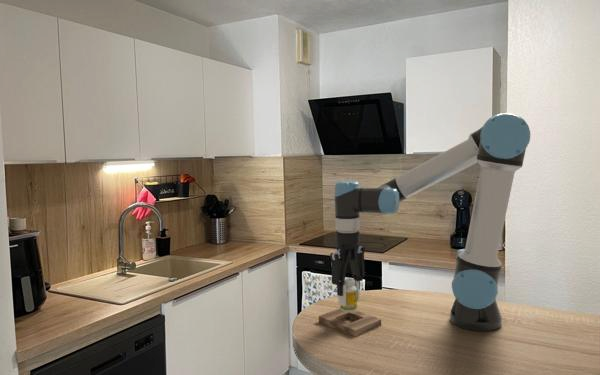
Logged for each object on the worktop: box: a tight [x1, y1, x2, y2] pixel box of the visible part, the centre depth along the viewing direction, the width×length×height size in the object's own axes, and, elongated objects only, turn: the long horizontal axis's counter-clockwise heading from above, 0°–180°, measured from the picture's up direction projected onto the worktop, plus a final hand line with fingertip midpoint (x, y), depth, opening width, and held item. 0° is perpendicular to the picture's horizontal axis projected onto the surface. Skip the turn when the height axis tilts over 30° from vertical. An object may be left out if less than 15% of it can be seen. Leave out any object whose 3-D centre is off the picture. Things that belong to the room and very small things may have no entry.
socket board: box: [318, 307, 382, 338], centre depth 148 cm, size 16×12×2 cm
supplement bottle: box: [339, 277, 358, 312], centre depth 147 cm, size 5×5×10 cm
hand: (349, 302), depth 147 cm, fingers closed on supplement bottle, 5 cm apart
